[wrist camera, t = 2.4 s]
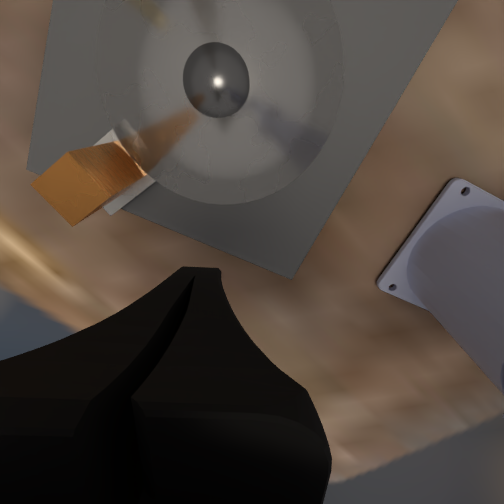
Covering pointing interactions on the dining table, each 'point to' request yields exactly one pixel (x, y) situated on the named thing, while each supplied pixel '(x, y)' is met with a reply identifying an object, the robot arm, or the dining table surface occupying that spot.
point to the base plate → (289, 197)
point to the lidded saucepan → (204, 102)
